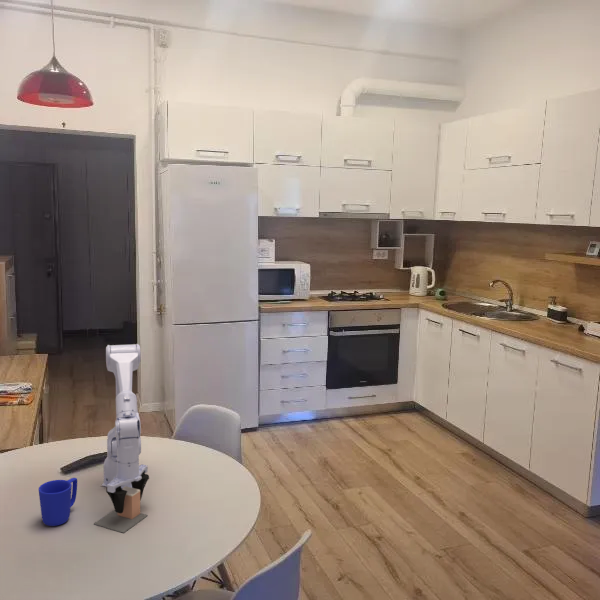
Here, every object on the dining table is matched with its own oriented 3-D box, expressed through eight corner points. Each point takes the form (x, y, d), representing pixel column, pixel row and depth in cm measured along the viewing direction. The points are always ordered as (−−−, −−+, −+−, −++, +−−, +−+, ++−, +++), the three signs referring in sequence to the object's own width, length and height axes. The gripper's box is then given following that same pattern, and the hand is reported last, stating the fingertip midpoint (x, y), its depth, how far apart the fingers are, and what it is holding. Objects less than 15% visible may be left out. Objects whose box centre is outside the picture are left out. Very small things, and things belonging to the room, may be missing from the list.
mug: (88, 510, 164) (87, 476, 163) (57, 531, 153) (56, 496, 151) (64, 504, 167) (63, 471, 165) (32, 525, 156) (31, 490, 154)
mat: (93, 524, 157) (93, 523, 157) (118, 507, 166) (118, 506, 166) (123, 533, 153) (123, 532, 153) (147, 515, 162) (147, 514, 162)
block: (117, 515, 162) (117, 491, 161) (125, 509, 165) (125, 486, 164) (132, 519, 160) (131, 495, 159) (140, 513, 163) (140, 489, 162)
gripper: (122, 472, 152) (122, 521, 154) (156, 452, 165) (156, 497, 167) (100, 467, 155) (101, 515, 157) (136, 448, 168) (136, 492, 170)
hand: (128, 506), depth 162 cm, fingers open, 7 cm apart
